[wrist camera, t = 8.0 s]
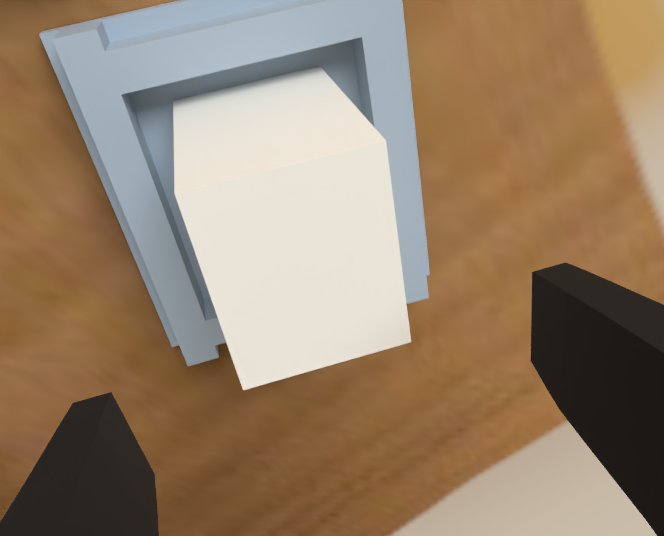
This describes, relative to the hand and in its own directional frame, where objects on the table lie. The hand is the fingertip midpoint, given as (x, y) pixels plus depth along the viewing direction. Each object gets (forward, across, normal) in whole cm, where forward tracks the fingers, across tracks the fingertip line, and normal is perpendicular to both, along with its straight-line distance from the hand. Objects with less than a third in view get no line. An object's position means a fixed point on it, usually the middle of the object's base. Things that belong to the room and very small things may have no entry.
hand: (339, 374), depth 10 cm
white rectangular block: (+9, 0, 0) cm, 9 cm away
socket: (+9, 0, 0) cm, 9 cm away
